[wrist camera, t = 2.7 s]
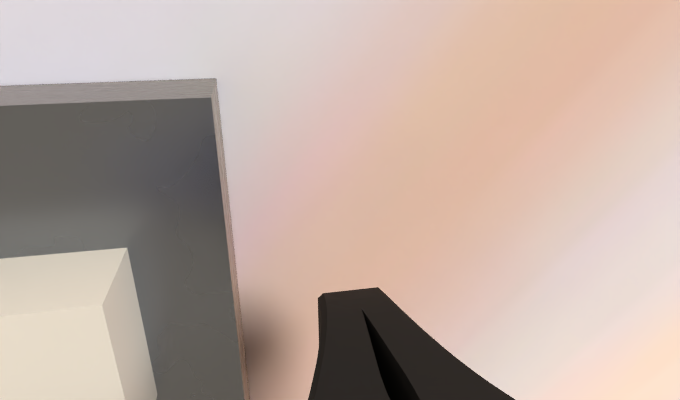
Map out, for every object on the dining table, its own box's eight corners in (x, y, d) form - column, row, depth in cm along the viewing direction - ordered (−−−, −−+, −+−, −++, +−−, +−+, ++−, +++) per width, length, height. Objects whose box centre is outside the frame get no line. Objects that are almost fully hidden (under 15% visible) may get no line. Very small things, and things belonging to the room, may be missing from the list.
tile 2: (157, 394, 12) (142, 469, 10) (-29, 419, 11) (-82, 505, 9) (127, 247, 10) (101, 305, 8) (-94, 266, 9) (-173, 334, 8)
